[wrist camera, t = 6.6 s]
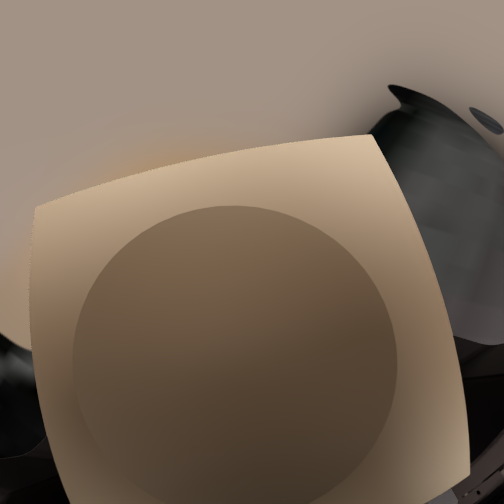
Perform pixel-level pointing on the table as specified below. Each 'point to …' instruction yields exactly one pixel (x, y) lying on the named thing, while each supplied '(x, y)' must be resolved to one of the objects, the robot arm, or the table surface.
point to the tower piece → (246, 335)
